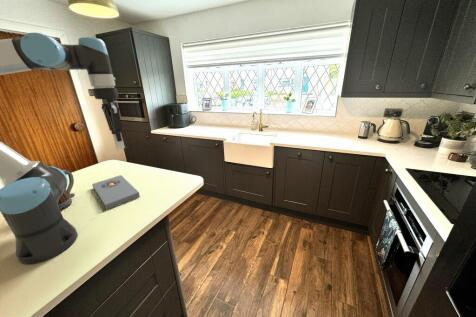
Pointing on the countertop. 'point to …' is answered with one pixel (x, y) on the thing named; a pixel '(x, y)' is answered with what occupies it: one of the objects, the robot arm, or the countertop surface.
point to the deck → (115, 191)
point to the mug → (67, 193)
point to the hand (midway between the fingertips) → (120, 148)
